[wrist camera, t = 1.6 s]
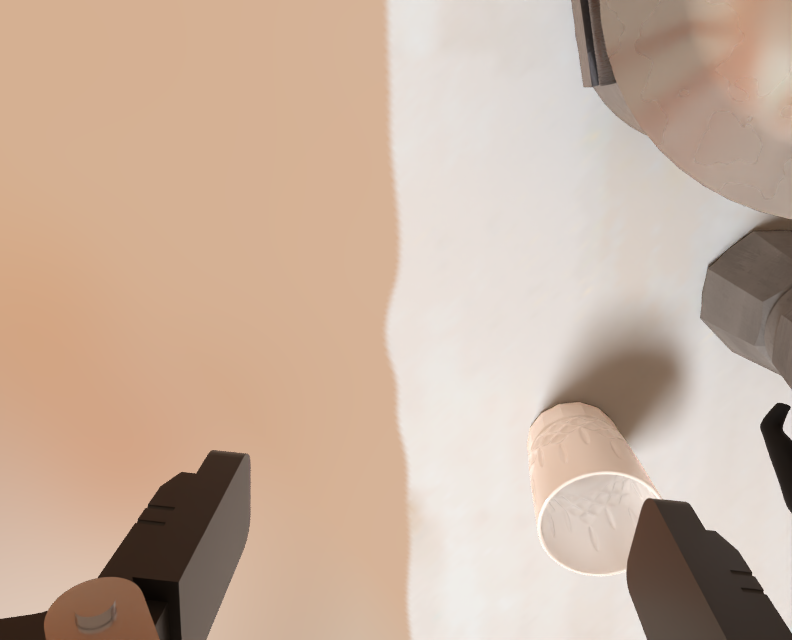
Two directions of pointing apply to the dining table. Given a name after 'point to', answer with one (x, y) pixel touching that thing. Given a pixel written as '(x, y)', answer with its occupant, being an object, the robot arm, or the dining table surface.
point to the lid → (707, 88)
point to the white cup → (585, 489)
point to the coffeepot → (757, 323)
